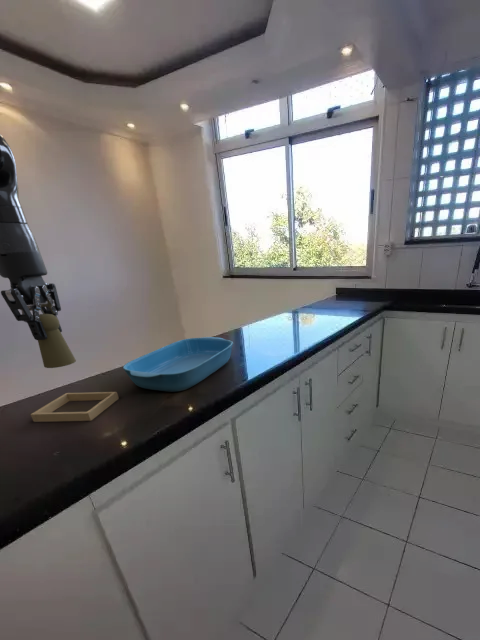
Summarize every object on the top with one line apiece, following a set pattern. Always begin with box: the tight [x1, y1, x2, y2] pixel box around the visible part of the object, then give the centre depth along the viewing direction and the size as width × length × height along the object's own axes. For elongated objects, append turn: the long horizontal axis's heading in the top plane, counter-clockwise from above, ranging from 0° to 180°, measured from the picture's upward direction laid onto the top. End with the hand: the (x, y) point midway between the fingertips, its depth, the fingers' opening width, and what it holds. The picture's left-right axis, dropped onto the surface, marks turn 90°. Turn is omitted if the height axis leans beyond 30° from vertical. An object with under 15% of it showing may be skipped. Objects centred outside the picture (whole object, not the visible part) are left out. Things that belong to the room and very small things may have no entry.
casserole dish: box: [122, 336, 234, 393], centre depth 96 cm, size 37×22×7 cm, turn 163°
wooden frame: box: [29, 391, 119, 423], centre depth 76 cm, size 14×12×3 cm
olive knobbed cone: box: [37, 313, 77, 369], centre depth 68 cm, size 6×6×11 cm
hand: (49, 335), depth 68 cm, fingers closed on olive knobbed cone, 5 cm apart
